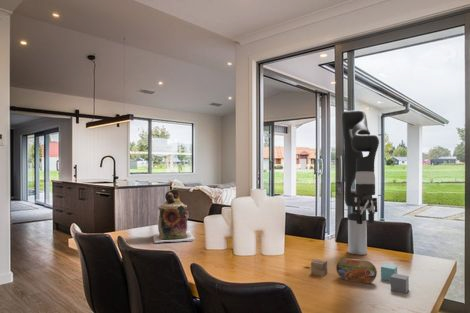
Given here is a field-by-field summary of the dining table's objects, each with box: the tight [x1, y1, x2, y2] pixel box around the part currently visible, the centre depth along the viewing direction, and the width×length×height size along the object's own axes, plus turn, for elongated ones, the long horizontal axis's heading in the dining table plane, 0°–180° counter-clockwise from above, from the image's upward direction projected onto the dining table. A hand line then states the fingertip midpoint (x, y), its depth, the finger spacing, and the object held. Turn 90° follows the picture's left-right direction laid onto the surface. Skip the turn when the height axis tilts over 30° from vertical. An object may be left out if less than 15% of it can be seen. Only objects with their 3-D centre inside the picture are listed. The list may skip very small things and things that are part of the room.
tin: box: [335, 257, 378, 284], centre depth 130 cm, size 15×3×8 cm, turn 57°
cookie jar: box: [152, 187, 196, 244], centre depth 208 cm, size 25×25×32 cm
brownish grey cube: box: [310, 259, 328, 277], centre depth 139 cm, size 5×5×5 cm
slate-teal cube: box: [380, 263, 398, 282], centre depth 132 cm, size 5×5×5 cm
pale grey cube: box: [390, 273, 410, 295], centre depth 120 cm, size 5×5×5 cm
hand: (365, 223), depth 132 cm, fingers open, 8 cm apart
